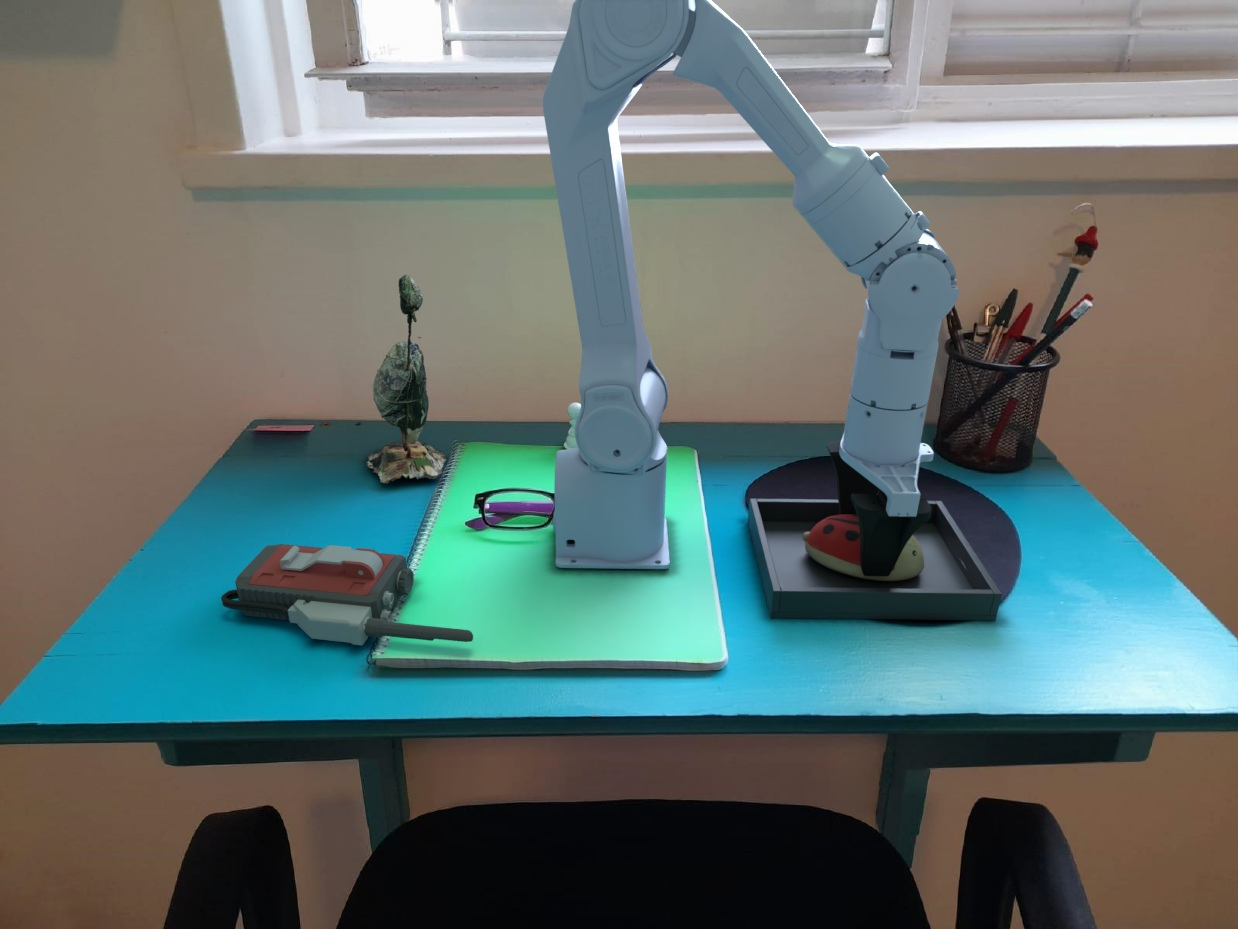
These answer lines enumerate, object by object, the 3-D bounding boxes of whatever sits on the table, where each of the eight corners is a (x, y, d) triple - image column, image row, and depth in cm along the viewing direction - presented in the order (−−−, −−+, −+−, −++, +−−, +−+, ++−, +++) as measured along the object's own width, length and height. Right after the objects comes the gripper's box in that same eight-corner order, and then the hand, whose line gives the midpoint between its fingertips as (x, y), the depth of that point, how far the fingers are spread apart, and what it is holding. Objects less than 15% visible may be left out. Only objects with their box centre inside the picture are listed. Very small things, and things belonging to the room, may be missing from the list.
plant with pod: (452, 438, 94) (436, 253, 85) (443, 488, 84) (424, 285, 75) (376, 440, 93) (351, 254, 84) (357, 491, 83) (327, 286, 74)
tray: (770, 618, 66) (773, 591, 65) (747, 522, 79) (749, 498, 78) (995, 620, 66) (1002, 594, 65) (936, 524, 79) (941, 500, 78)
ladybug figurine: (921, 595, 68) (929, 557, 67) (795, 572, 71) (800, 535, 69) (923, 551, 74) (930, 515, 72) (806, 531, 77) (810, 496, 75)
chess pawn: (583, 454, 90) (582, 410, 88) (559, 449, 91) (558, 405, 89) (595, 443, 93) (595, 400, 90) (571, 438, 94) (570, 396, 91)
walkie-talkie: (207, 634, 64) (469, 662, 61) (194, 584, 62) (465, 611, 59) (267, 567, 72) (502, 590, 69) (257, 522, 70) (499, 543, 67)
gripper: (976, 437, 59) (940, 600, 65) (913, 362, 72) (889, 504, 78) (872, 436, 59) (846, 599, 65) (828, 361, 72) (810, 503, 78)
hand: (864, 548), depth 72 cm, fingers closed on ladybug figurine, 7 cm apart
